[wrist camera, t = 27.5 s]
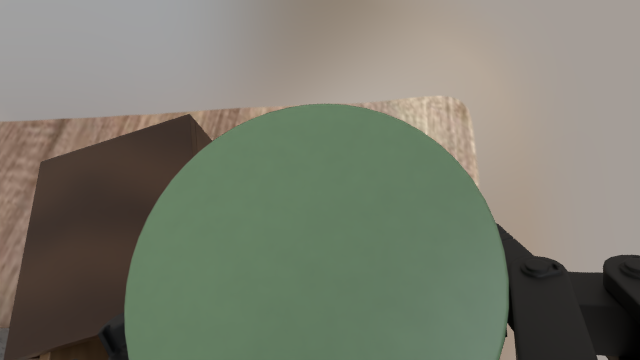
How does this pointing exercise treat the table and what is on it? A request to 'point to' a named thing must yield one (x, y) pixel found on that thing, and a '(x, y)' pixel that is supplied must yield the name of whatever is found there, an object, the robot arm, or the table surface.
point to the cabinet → (91, 233)
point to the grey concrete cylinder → (3, 341)
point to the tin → (319, 248)
